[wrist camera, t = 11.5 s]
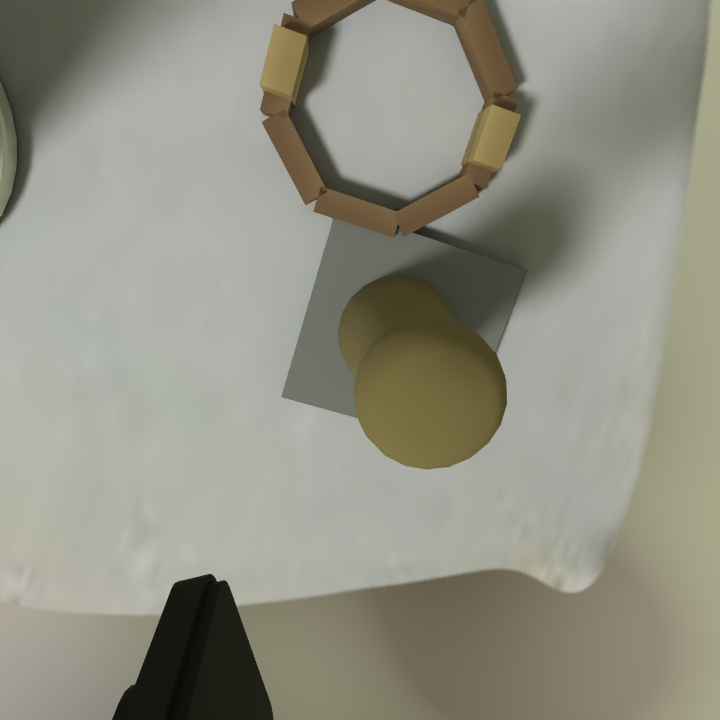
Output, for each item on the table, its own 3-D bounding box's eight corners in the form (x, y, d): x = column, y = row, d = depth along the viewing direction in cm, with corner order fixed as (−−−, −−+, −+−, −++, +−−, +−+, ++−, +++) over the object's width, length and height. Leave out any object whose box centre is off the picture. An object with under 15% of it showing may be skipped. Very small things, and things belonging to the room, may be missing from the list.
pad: (282, 392, 28) (281, 396, 28) (336, 208, 26) (336, 207, 25) (455, 439, 30) (458, 445, 29) (521, 268, 27) (527, 270, 26)
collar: (242, 188, 25) (234, 186, 23) (305, -65, 23) (302, -94, 21) (457, 258, 27) (468, 261, 25) (539, 27, 24) (559, 9, 22)
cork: (363, 257, 26) (385, 286, 15) (473, 300, 27) (567, 356, 16) (321, 367, 27) (314, 465, 17) (427, 405, 28) (486, 520, 18)
